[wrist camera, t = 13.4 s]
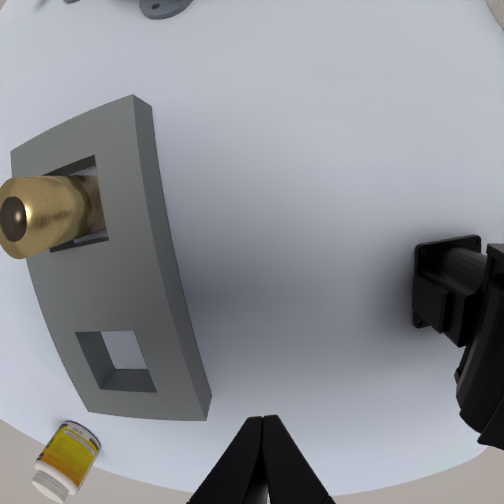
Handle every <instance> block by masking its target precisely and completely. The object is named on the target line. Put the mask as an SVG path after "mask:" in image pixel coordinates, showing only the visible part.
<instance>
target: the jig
mask: <svg viewBox="0 0 504 504" xmlns="http://www.w3.org/2000/svg"><path fill="white" fill-rule="evenodd" d="M93 165H96V168H97V176H98V183H99V190H100V196H101V202H102V208H103V213H104V219H105V224H106V229H107V234H108V237H103V238H98V239H94V240H89V241H84V242H80V243H75V244H74V242H73V240H71V241H68V242H65V243H62V244H60V245H57V246H54V247H52V248H49V249H46V250H44V251H41V252H38V253H36V254H33V255H31V256H28V257H26V261H27V265H28V269H29V272H30V276H31V280H32V283H33V286H34V290H35V293H36V296H37V299H38V302H39V305H40V308H41V311H42V314H43V317H44V319H45V322H46V325H47V327H48V330H49V332H50V335H51V337H52V340H53V342H54V345H55V347H56V349H57V352H58V354H59V356H60V358H61V360H62V363H63V365H64V367H65V369H66V371H67V373H68V375H69V377H70V379H71V381H72V383H73V385H74V387H75V389H76V391H77V393H78V394H79V396H80V398H81V400H82V402H83V403H84V405H85V407H86V409H87V410H88V412H93V413H100V414H107V415H114V416H122V417H132V418H143V419H157V420H180V421H206V419H207V415H208V411H209V406H210V402H211V398H212V394H211V391H210V388H209V385H208V382H207V378H206V375H205V372H204V368H203V365H202V362H201V358H200V355H199V351H198V348H197V344H196V340H195V337H194V333H193V329H192V325H191V322H190V318H189V314H188V310H187V306H186V302H185V298H184V294H183V289H182V285H181V281H180V277H179V272H178V268H177V263H176V258H175V254H174V249H173V244H172V239H171V234H170V229H169V224H168V218H167V213H166V208H165V202H164V196H163V190H162V184H161V178H160V171H159V165H158V158H157V150H156V143H155V135H154V127H153V118H152V109H151V106H150V105H149V104H147V103H146V102H144V101H143V100H141V99H139V98H138V97H136V96H135V95H133V94H132V95H129V96H126V97H123V98H121V99H118V100H115V101H113V102H110V103H107V104H105V105H102V106H100V107H97V108H95V109H92V110H90V111H88V112H85V113H83V114H81V115H78V116H76V117H74V118H72V119H70V120H68V121H65V122H63V123H61V124H59V125H57V126H55V127H53V128H51V129H49V130H47V131H45V132H44V133H42V134H40V135H38V136H36V137H34V138H32V139H31V140H29V141H27V142H25V143H24V144H22V145H20V146H19V147H17V148H15V149H14V150H12V151H11V168H12V178H16V177H35V176H65V175H68V174H71V173H73V172H76V171H79V170H82V169H84V168H87V167H90V166H93ZM126 330H134V332H135V335H136V338H137V341H138V344H139V347H140V349H141V352H142V355H143V358H144V360H145V363H146V366H147V368H148V370H129V369H115V368H114V366H113V364H112V361H111V359H110V356H109V354H108V351H107V349H106V346H105V344H104V341H103V339H102V336H101V333H100V331H126Z"/></svg>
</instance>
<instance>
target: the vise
mask: <svg viewBox="0 0 504 504" xmlns="http://www.w3.org/2000/svg"><path fill="white" fill-rule="evenodd" d="M64 1H65V2H67V3H74V2H77V1H79V0H64ZM192 1H193V0H140V4H139V5H140V9H141V10H142V12H143V13H144V14H145V15H146V16H147V17H149V18H152V19H165V18H169V17H172V16H175V15H177V14H179V13H180V12H182V11H183V10H185V9H186V8H187V6H188V5H189V4H190V3H191V2H192Z"/></svg>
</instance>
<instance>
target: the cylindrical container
mask: <svg viewBox="0 0 504 504" xmlns="http://www.w3.org/2000/svg"><path fill="white" fill-rule="evenodd" d="M486 1H487V4H488V6H489V8H490V10H491V12H492V14H493V15H494V17H495V18H496V20H497V21H498V23H499V24H500V25H501V27H502V28H503V29H504V0H486Z"/></svg>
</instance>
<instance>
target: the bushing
mask: <svg viewBox="0 0 504 504" xmlns="http://www.w3.org/2000/svg"><path fill="white" fill-rule="evenodd" d="M105 227H106V224H105V219H104V213H103V208H102V202H101V196H100V190H99V183H98V176H97V175H66V176H35V177H16V178H11V179H9V180H7V181H6V182H5V183H4V184H3V185H2V186H1V188H0V244H1V246H2V247H3V249H4V250H5V251H6V253H7V254H9V255H10V256H11V257H13V258H16V259H23V258H26V257H28V256H31V255H33V254H36V253H38V252H41V251H44V250H46V249H49V248H52V247H54V246H57V245H60V244H62V243H65V242H68V241H71V240H73V239H76V238H79V237H82V236H85V235H88V234H91V233H93V232H96V231H99V230H102V229H104V228H105Z"/></svg>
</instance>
